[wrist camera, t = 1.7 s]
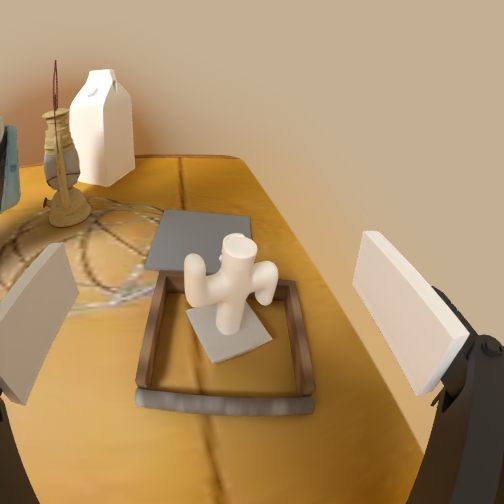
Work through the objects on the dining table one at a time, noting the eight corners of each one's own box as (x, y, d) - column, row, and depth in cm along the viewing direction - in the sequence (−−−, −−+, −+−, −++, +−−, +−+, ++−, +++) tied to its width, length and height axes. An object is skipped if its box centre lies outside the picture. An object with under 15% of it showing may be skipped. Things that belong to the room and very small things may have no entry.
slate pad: (253, 278, 42) (253, 276, 42) (144, 269, 40) (144, 266, 40) (249, 219, 55) (249, 216, 54) (165, 211, 53) (165, 209, 52)
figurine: (274, 352, 33) (310, 257, 24) (201, 381, 29) (203, 287, 19) (245, 310, 38) (265, 211, 28) (177, 331, 33) (171, 228, 24)
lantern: (47, 206, 49) (31, 65, 30) (88, 195, 54) (81, 55, 35) (46, 237, 42) (21, 67, 23) (94, 224, 47) (83, 54, 28)
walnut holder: (309, 416, 27) (318, 406, 25) (137, 408, 25) (132, 398, 23) (289, 295, 41) (294, 280, 39) (161, 285, 39) (160, 269, 37)
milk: (135, 168, 67) (137, 66, 50) (108, 187, 58) (104, 71, 41) (100, 162, 68) (98, 68, 52) (72, 180, 59) (65, 75, 43)
